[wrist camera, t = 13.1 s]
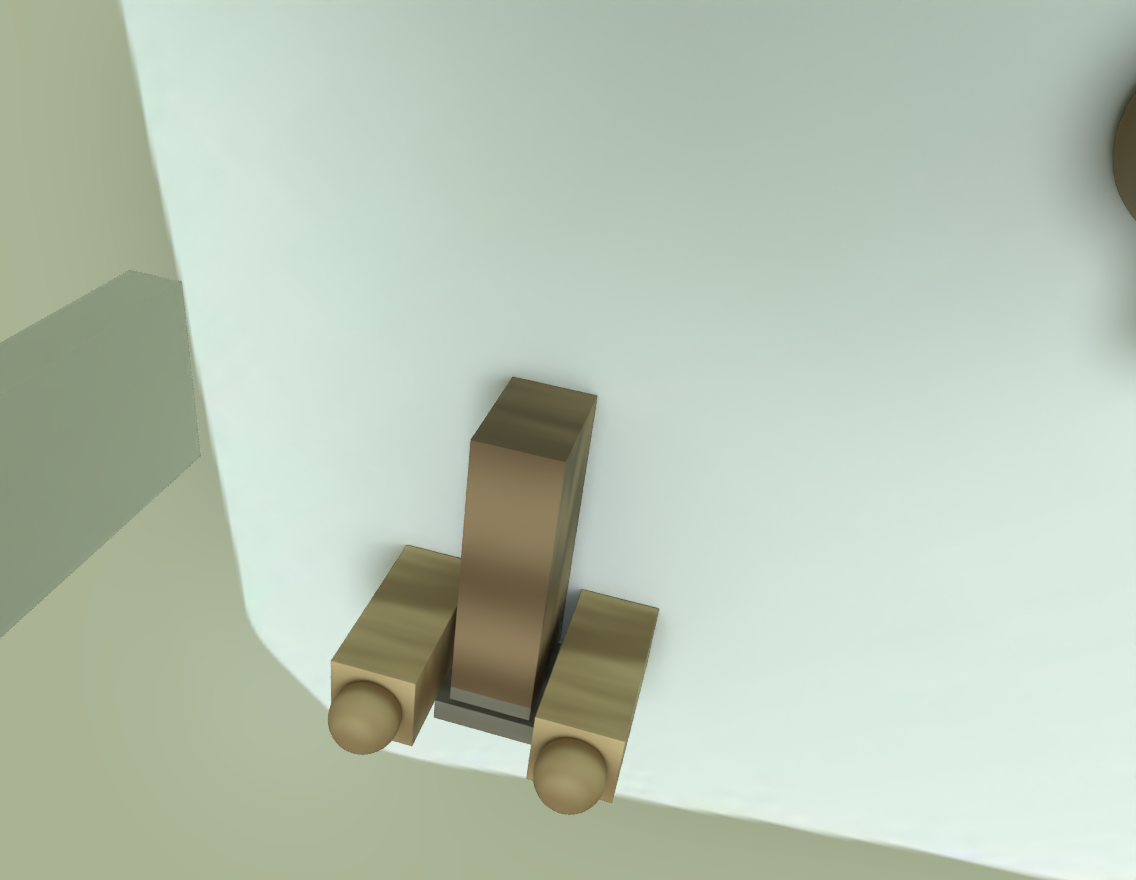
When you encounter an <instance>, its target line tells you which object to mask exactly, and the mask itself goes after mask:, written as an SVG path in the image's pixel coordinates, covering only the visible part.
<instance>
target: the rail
mask: <svg viewBox="0 0 1136 880" xmlns="http://www.w3.org/2000/svg"><path fill="white" fill-rule="evenodd" d="M596 402H597V395H592V394H588V393H583V392H579V391H575V390H570V389H566V388H561V387H557V386H552V385H548V384H543V383H539V382H535V381H530V380H526V379H521V378H517V377H512V379H511V380H510V382H509V383H508V385H507V386H506V388H505V389H504V391H503V392H502V394H501V395H500V397H499V398H498V400H497V401H496V403H495V404H494V406H493V407H492V409H491V410H490V412H489V413H488V415H487V416H486V418H485V419H484V421H483V422H482V424H481V425H480V427H479V428H478V430H477V431H476V433H475V434H474V436H473V437H472V439H471V442H470V454H469V467H468V479H467V492H466V504H465V517H464V529H463V541H462V554H461V566H460V579H459V591H458V604H457V616H456V629H455V641H454V654H453V666H452V679H451V691H450V699H453V700H457V701H461V702H464V703H468V704H471V705H475V706H479V707H482V708H486V709H489V710H493V711H497V712H500V713H504V714H507V715H511V716H515V717H518V718H522V719H525V720H529V719H530V717H531V714H532V711H533V709H534V706H535V703H536V701H537V698H538V695H539V693H540V690H541V687H542V685H543V682H544V679H545V677H546V674H547V671H548V669H549V666H550V663H551V661H552V658H553V655H554V653H555V650H556V647H557V645H558V642H559V639H560V634H561V628H562V621H563V615H564V608H565V602H566V595H567V589H568V583H569V576H570V570H571V563H572V557H573V550H574V544H575V537H576V531H577V525H578V518H579V512H580V505H581V499H582V492H583V486H584V480H585V473H586V467H587V460H588V454H589V447H590V441H591V434H592V428H593V422H594V415H595V409H596Z"/></svg>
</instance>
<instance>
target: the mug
mask: <svg viewBox="0 0 1136 880" xmlns="http://www.w3.org/2000/svg"><path fill="white" fill-rule="evenodd" d="M1113 171H1114V176H1115V182H1116V185H1117V188H1118V191H1119V194H1120V197H1121V198H1122V200H1123V202H1124V204H1125V206H1126V208H1127V209H1128V211H1129V213H1130V214H1131V215H1132V217H1133V218H1134V219H1135V220H1136V92H1135V94H1134V95H1133V97H1132V98H1131V100H1130V102H1129V104H1128V105H1127V107H1126V109H1125V111H1124V113H1123V116H1122V118H1121V121H1120V123H1119V126H1118V129H1117V133H1116V137H1115V142H1114V151H1113Z"/></svg>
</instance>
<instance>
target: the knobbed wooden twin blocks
mask: <svg viewBox="0 0 1136 880" xmlns="http://www.w3.org/2000/svg"><path fill="white" fill-rule="evenodd" d="M460 566H461V559H460V558H456V557H452V556H448V555H444V554H441V553H437V552H433V551H429V550H425V549H421V548H417V547H413V546H409V545H407V546H406V547H405V549H404V550H403V552H402V553H401V555H400V556H399V558H398V559H397V561H396V562H395V564H394V565H393V567H392V568H391V570H390V572H389V573H388V575H387V576H386V578H385V579H384V581H383V582H382V584H381V585H380V587H379V588H378V590H377V591H376V593H375V594H374V596H373V597H372V599H371V600H370V602H369V604H368V605H367V607H366V608H365V610H364V611H363V613H362V614H361V616H360V617H359V619H358V620H357V622H356V623H355V625H354V626H353V628H352V629H351V631H350V632H349V634H348V635H347V637H346V639H345V640H344V642H343V643H342V645H341V646H340V648H339V649H338V651H337V652H336V654H335V655H334V657H333V658H332V660H331V706H330V709H329V714H328V725H329V730H330V732H331V735H332V736H333V739H334V740H335V741H336V743H337V744H338V745H339V746H340V747H342V748H343V749H344V750H346V751H348V752H351V753H354V754H362V755H364V754H371V753H374V752H377V751H379V750H381V749H383V748H384V747H386V746H387V745H388V744H389V743H390V742H391V741H395V742H399V743H402V744H406V745H409V746H412V745H413V743H414V741H415V739H416V737H417V735H418V733H419V731H420V729H421V727H422V725H423V723H424V721H425V719H426V717H427V715H428V713H429V711H430V709H431V707H432V705H433V703H434V701H435V708H434V718H438V719H441V720H445V721H448V722H452V723H456V724H459V725H463V726H466V727H470V728H473V729H477V730H481V731H484V732H488V733H491V734H495V735H498V736H502V737H506V738H509V739H513V740H516V741H520V742H523V743H527V744H531V750H530V756H529V763H528V770H527V777H526V779H529V780H532V781H533V782H534V787H535V789H536V792H537V794H538V796H539V798H540V799H541V800H542V802H543V803H544V804H545V805H546V806H548V807H549V808H550V809H552V810H553V811H556V812H558V813H561V814H568V815H571V814H578V813H582V812H584V811H586V810H588V809H590V808H591V807H592V806H593V805H595V804H596V803H597V801H598V800H602V801H606V802H609V803H612V801H613V797H614V793H615V789H616V785H617V781H618V777H619V773H620V769H621V765H622V761H623V757H624V753H625V750H626V746H627V742H628V738H629V734H630V730H631V726H632V722H633V718H634V714H635V710H636V706H637V702H638V698H639V694H640V690H641V686H642V682H643V678H644V674H645V670H646V666H647V662H648V657H649V653H650V648H651V643H652V639H653V634H654V630H655V625H656V621H657V616H658V612H659V609H657V608H653V607H649V606H645V605H641V604H637V603H633V602H629V601H626V600H622V599H618V598H614V597H610V596H606V595H602V594H598V593H594V592H590V591H586V590H582V592H581V594H580V597H579V600H578V603H577V605H576V608H575V611H574V613H573V616H572V619H571V621H570V624H569V627H568V630H567V632H566V635H565V638H564V640H563V643H562V644H558V645H557V647H556V650H555V653H554V655H553V658H552V661H551V663H550V666H549V669H548V671H547V674H546V677H545V679H544V682H543V685H542V687H541V690H540V693H539V695H538V698H537V701H536V703H535V706H534V709H533V711H532V714H531V717H530V719H529V720H525V719H522V718H518V717H515V716H511V715H507V714H504V713H500V712H497V711H493V710H489V709H486V708H482V707H479V706H475V705H471V704H468V703H464V702H461V701H457V700H453V699H450V691H451V679H452V666H453V654H454V641H455V629H456V616H457V604H458V591H459V579H460Z"/></svg>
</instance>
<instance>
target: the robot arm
mask: <svg viewBox="0 0 1136 880" xmlns="http://www.w3.org/2000/svg"><path fill="white" fill-rule="evenodd" d="M188 344H189V343H188V334H187V325H186V316H185V306H184V297H183V288H182V281H178V280H173V279H169V278H164V277H159V276H155V275H150V274H146V273H141V272H137V271H132V270H129V271H127V272H125V273H123V274H121V275H120V276H118V277H116V278H114V279H113V280H111V281H109V282H107V283H106V284H104V285H102V286H100V287H98V288H97V289H95V290H93V291H91V292H89V293H88V294H86V295H84V296H83V297H81V298H79V299H77V300H75V301H74V302H72V303H70V304H68V305H66V306H65V307H63V308H61V309H59V310H58V311H56V312H54V313H52V314H50V315H49V316H47V317H45V318H44V319H42V320H40V321H38V322H36V323H35V324H33V325H31V326H29V327H27V328H26V329H24V330H22V331H20V332H19V333H17V334H15V335H13V336H11V337H10V338H8V339H6V340H4V341H3V342H1V343H0V638H1V637H2V636H3V635H4V634H5V633H6V632H8V631H9V630H10V629H11V628H12V627H13V626H14V625H15V624H16V623H17V622H19V620H21V619H22V618H23V617H24V616H25V615H26V614H28V613H29V612H30V611H31V610H32V609H33V608H34V607H35V606H36V605H37V604H39V603H40V602H41V601H42V600H43V599H44V598H45V597H46V596H47V595H48V594H49V593H51V592H52V591H53V590H54V589H55V588H56V587H57V586H58V585H59V584H61V583H62V582H63V581H64V580H65V579H66V578H67V577H68V576H69V575H70V574H71V573H73V572H74V571H75V570H76V569H77V568H78V567H79V566H80V565H82V564H83V563H84V562H85V561H86V560H87V559H88V558H89V557H90V556H91V555H93V553H95V552H96V551H97V550H98V549H99V548H100V547H101V546H102V545H104V544H105V543H106V542H107V541H108V540H109V539H110V538H111V537H112V536H113V535H115V534H116V533H117V532H118V531H119V530H120V529H121V528H122V527H123V526H124V525H126V524H127V523H128V522H129V521H130V520H131V519H132V518H133V517H134V516H136V514H138V513H139V512H140V511H141V510H142V509H143V508H144V507H145V506H146V505H148V504H149V503H150V502H151V501H152V500H153V499H154V498H155V497H156V496H157V495H159V494H160V493H161V492H162V491H163V490H164V489H165V488H166V487H167V486H169V484H171V483H172V482H173V481H174V480H175V479H176V478H177V477H178V476H180V475H181V474H182V473H183V472H184V471H185V470H186V469H187V468H188V467H190V466H191V464H193V463H194V462H195V461H196V460H197V459H198V458H199V457H200V456H201V454H200V444H199V435H198V427H197V418H196V408H195V399H194V391H193V390H194V389H193V380H192V371H191V361H190V352H189V345H188Z"/></svg>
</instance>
